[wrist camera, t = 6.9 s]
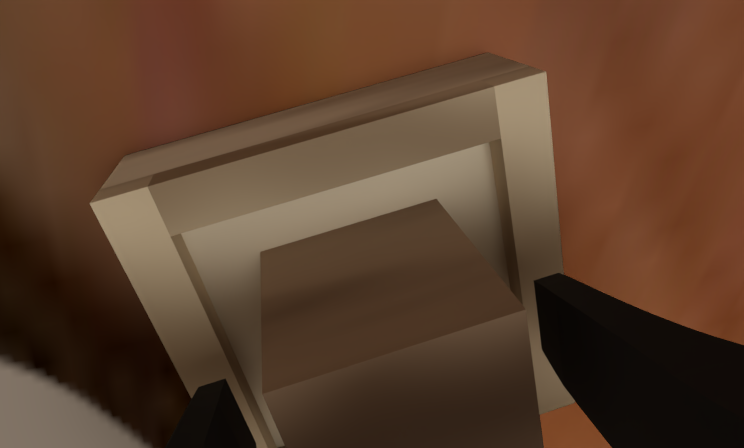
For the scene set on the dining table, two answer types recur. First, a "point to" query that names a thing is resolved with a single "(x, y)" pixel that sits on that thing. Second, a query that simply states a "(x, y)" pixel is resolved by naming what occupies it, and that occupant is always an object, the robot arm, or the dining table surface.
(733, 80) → the dining table surface
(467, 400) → the walnut block
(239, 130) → the beech base
